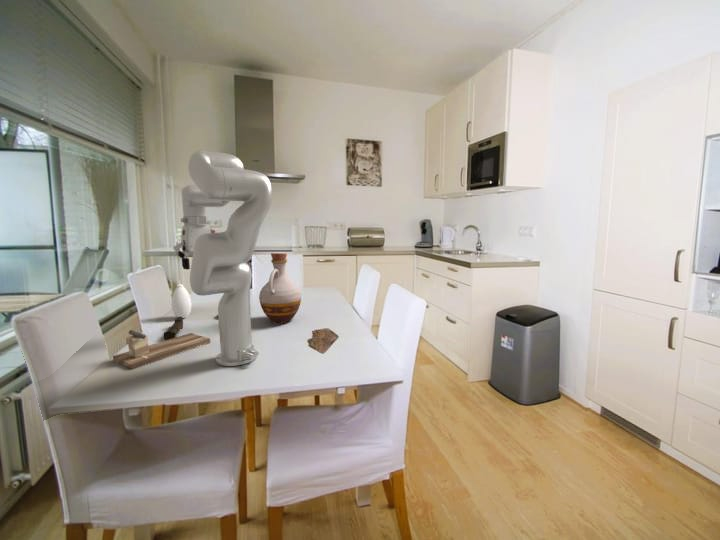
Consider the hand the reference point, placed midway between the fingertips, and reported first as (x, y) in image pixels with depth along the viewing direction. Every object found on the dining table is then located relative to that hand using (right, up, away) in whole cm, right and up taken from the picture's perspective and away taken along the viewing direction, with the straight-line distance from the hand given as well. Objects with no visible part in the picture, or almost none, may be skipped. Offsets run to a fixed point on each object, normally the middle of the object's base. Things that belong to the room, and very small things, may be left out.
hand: (198, 267), depth 128 cm
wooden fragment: (+47, -27, -2) cm, 55 cm away
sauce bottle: (-19, -23, +26) cm, 39 cm away
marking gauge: (-10, -28, -19) cm, 35 cm away
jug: (+26, -24, +21) cm, 41 cm away
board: (-6, -29, -12) cm, 32 cm away
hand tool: (-13, -26, +6) cm, 30 cm away
